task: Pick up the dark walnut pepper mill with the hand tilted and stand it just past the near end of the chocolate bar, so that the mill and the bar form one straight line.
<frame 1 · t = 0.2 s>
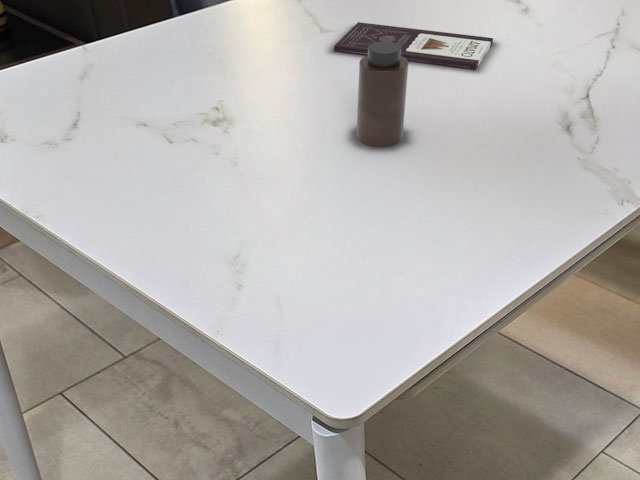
chocolate bar: (412, 50, 109), on the table
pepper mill: (379, 139, 90), on the table
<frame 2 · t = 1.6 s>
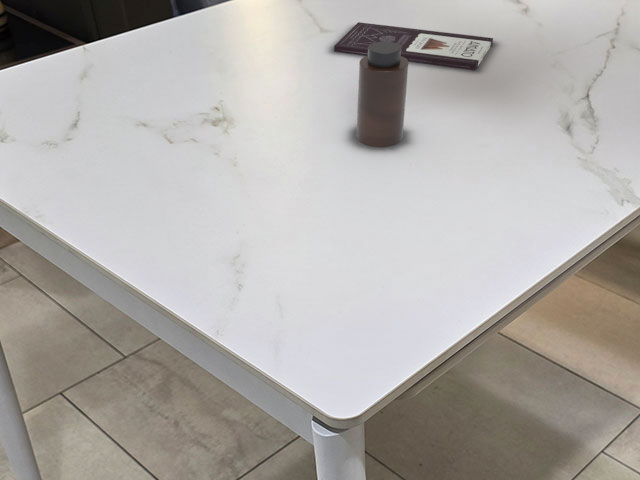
nothing on the table moved.
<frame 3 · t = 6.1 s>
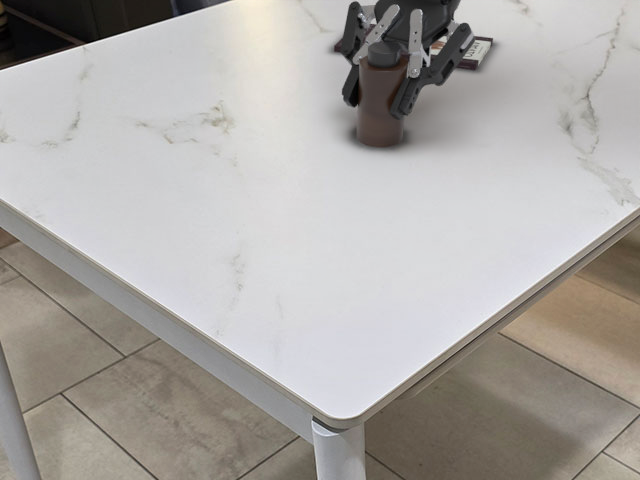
hand: (372, 109, 86), 4 cm above the table, tool tilted 45°, fingers closed on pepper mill, 5 cm apart
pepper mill: (379, 139, 90), on the table, touching gripper
everything else where it was.
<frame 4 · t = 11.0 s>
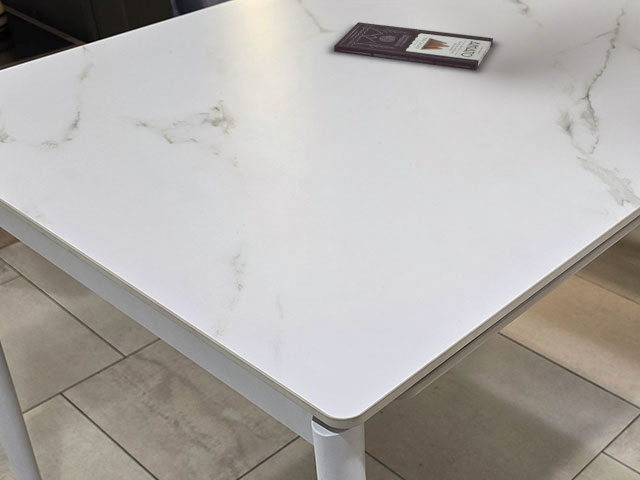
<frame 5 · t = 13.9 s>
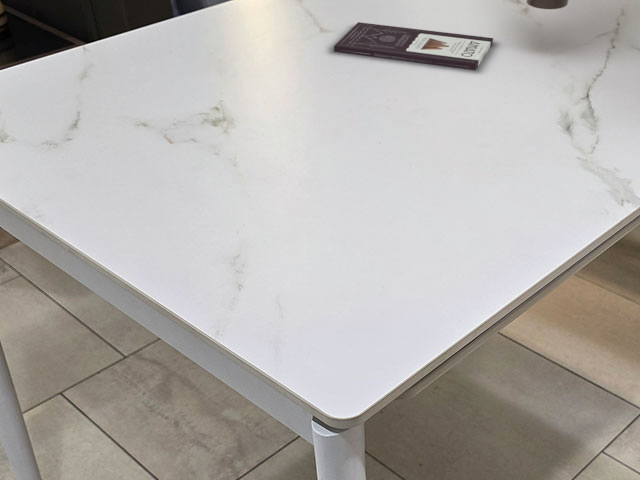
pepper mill: (546, 2, 103), point 6 cm above the table, touching gripper
everything else where it was.
when the fingers open (4 cm above the table, at t = 16.0 s): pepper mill stays where it is, on the table.
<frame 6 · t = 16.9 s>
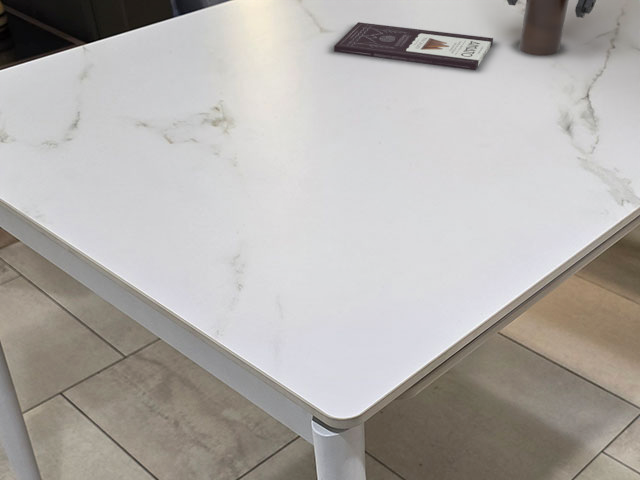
hand: (543, 8, 103), 6 cm above the table, tool tilted 45°, fingers open, 8 cm apart
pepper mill: (538, 50, 107), on the table
everything else where it was.
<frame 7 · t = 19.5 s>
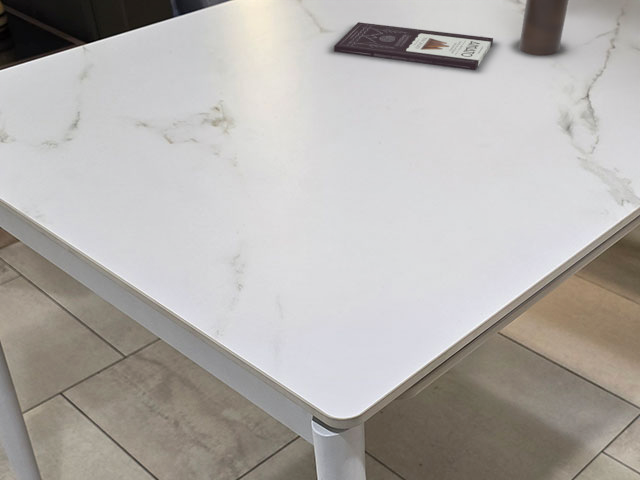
nothing on the table moved.
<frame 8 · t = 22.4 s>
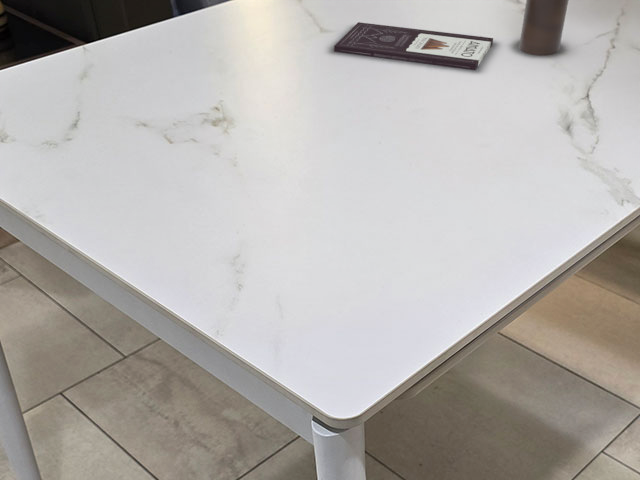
nothing on the table moved.
at the end: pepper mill 0.3 cm from the target spot on the table beside the chocolate bar, on the table; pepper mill tilted 0°; the gripper is holding nothing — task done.
